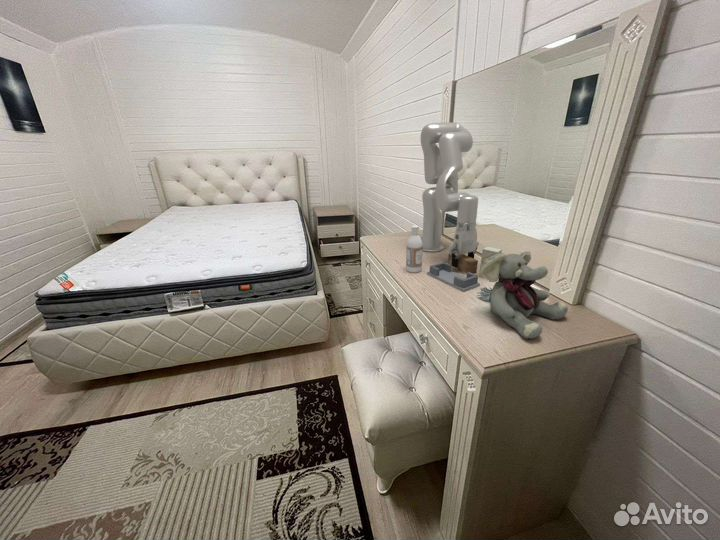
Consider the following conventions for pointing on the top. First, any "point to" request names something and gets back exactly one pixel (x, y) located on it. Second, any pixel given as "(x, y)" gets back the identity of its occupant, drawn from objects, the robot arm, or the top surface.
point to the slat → (465, 263)
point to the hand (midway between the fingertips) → (462, 264)
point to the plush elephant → (518, 292)
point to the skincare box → (488, 255)
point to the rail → (453, 277)
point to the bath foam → (414, 251)
